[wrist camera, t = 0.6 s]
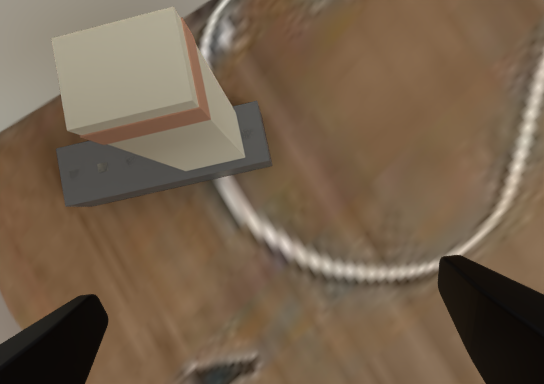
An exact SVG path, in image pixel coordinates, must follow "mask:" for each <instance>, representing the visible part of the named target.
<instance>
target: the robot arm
mask: <svg viewBox="0 0 544 384" xmlns="http://www.w3.org/2000/svg"><path fill="white" fill-rule="evenodd" d="M438 289H439V292H440V295H441V297H442V299H443V301H444V303H445V305H446V307H447V309H448V312H449V314H450V316H451V318H452V320H453V322H454V324H455V327H456V329H457V331H458V333H459V335H460V337H461V339H462V342H463V344H464V346H465V348H466V350H467V352H468V354H469V356H470V357H471V359H472V361H473V363H474V365H475V366H476V368H477V370H478V371H479V373H480V375H481V376H482V378H483V380H484V381H485V383H486V384H544V294H541V293H539V292H537V291H535V290H533V289H531V288H529V287H527V286H525V285H522V284H520V283H518V282H516V281H514V280H512V279H510V278H508V277H505V276H503V275H501V274H499V273H497V272H495V271H493V270H491V269H489V268H486V267H484V266H482V265H480V264H478V263H476V262H474V261H472V260H469V259H467V258H465V257H463V256H461V255H452V256H444V257H442V258H441V259H440V262H439V273H438ZM107 325H108V315H107V313H106V311H105V309H104V307H103V305H102V304H101V302H100V300H99V298H98V297H97V296H96V295H94V294H89V295H81V296H78V297H76V298H74V299H73V300H71V301H70V302H68V303H66V304H65V305H63V306H61V307H60V308H58V309H57V310H55V311H53V312H52V313H50V314H49V315H47V316H45V317H44V318H42V319H40V320H39V321H37V322H36V323H34V324H32V325H31V326H29V327H28V328H26V329H24V330H23V331H21V332H19V333H18V334H16V335H15V336H13V337H12V338H10V339H8V340H7V341H5V342H3V343H2V344H0V384H85V382H86V380H87V377H88V375H89V372H90V370H91V367H92V365H93V362H94V359H95V357H96V354H97V352H98V349H99V346H100V344H101V341H102V339H103V336H104V333H105V331H106V328H107Z"/></svg>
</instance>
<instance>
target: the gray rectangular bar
mask: <svg viewBox="0 0 544 384" xmlns="http://www.w3.org/2000/svg"><path fill="white" fill-rule="evenodd" d="M233 109H234V110H235V112H236V116H237V120H238V125H239V130H240V134H241V139H242V144H243V149H244V153H245V158H242V159H237V160H233V161H228V162H224V163H220V164H215V165H211V166H206V167H202V168H198V169H193V170H189V171H184V170H181V169H178V168H175V167H172V166H169V165H166V164H163V163H160V162H157V161H154V160H151V159H149V158H146V157H143V156H140V155H137V154H134V153H131V152H128V151H125V150H122V149H119V148H117V147H114V146H111V145H108V144H106V145H102V144H99V143H96V142H93V141H86V142H82V143H78V144H74V145H69V146H65V147H61V148H57V149H56V152H57V158H58V164H59V170H60V176H61V182H62V188H63V194H64V200H65V206H66V207H92V206H96V205H101V204H105V203H110V202H114V201H118V200H123V199H127V198H132V197H136V196H141V195H145V194H150V193H154V192H158V191H163V190H167V189H172V188H176V187H181V186H185V185H190V184H194V183H198V182H203V181H207V180H212V179H216V178H221V177H225V176H229V175H234V174H238V173H243V172H247V171H252V170H256V169H261V168H265V167H269V166H272V161H271V157H270V152H269V148H268V143H267V139H266V134H265V129H264V125H263V120H262V116H261V112H260V109H259V106H258V102H257V101H254V102H250V103H246V104H241V105H237V106H233Z"/></svg>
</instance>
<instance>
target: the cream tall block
mask: <svg viewBox="0 0 544 384" xmlns="http://www.w3.org/2000/svg"><path fill="white" fill-rule="evenodd" d="M51 40H52V46H53V52H54V58H55V63H56V69H57V75H58V81H59V86H60V93H61V98H62V104H63V110H64V116H65V122H66V128H67V131H70V132H73V133H76V134H79V135H80V137H81V138H84V139H87V140H90V141H93V142H96V143H99V144H102V145H106V144H108V145H111V146H114V147H117V148H119V149H122V150H125V151H128V152H131V153H134V154H137V155H140V156H143V157H146V158H149V159H151V160H154V161H157V162H160V163H163V164H166V165H169V166H172V167H175V168H178V169H181V170H184V171H189V170H193V169H198V168H202V167H206V166H211V165H215V164H220V163H224V162H228V161H233V160H237V159H242V158H245V153H244V149H243V144H242V139H241V134H240V130H239V125H238V120H237V116H236V112H235V110H234V109H233V107H232V105H231V104H230V102H229V100H228V99H227V97H226V95H225V93H224V92H223V90H222V88H221V87H220V85H219V83H218V81H217V80H216V78H215V76H214V75H213V73H212V71H211V69H210V68H209V66H208V64H207V63H206V61H205V59H204V58H203V56H202V54H201V52H200V51H199V49H198V47H197V46H196V44H195V39H194V37H193V35H192V34H191V32H190V30H189V28H188V27H187V25H186V23H185V21H184V20H183V18H180V17H179V15H178V13H177V12H176V10H175V8H174V7H170V8H166V9H162V10H159V11H154V12H151V13H147V14H143V15H139V16H136V17H131V18H127V19H124V20H120V21H116V22H112V23H109V24H104V25H100V26H97V27H93V28H89V29H85V30H81V31H78V32H74V33H70V34H66V35H62V36H58V37H54V38H51Z"/></svg>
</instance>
